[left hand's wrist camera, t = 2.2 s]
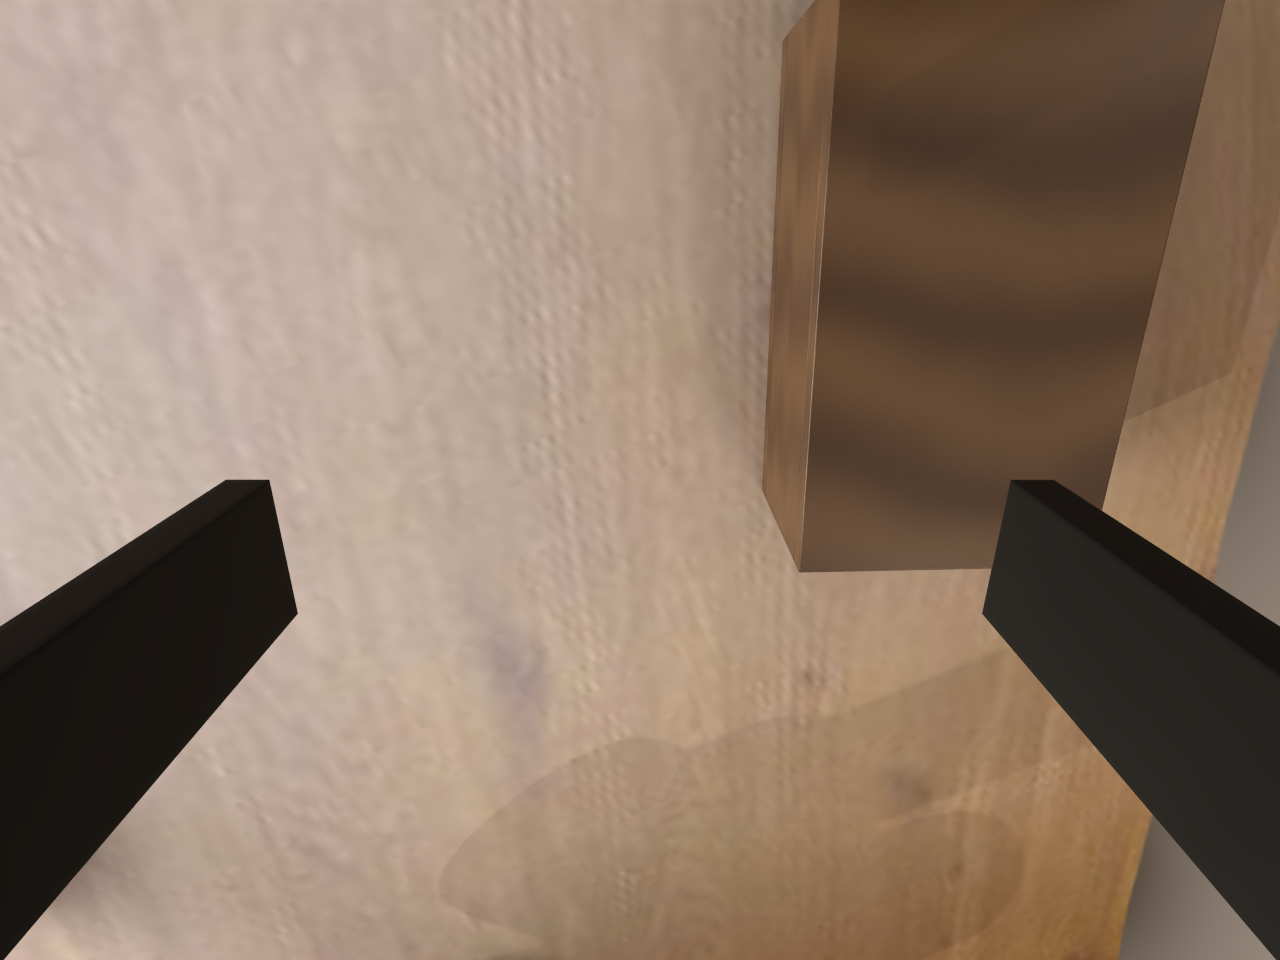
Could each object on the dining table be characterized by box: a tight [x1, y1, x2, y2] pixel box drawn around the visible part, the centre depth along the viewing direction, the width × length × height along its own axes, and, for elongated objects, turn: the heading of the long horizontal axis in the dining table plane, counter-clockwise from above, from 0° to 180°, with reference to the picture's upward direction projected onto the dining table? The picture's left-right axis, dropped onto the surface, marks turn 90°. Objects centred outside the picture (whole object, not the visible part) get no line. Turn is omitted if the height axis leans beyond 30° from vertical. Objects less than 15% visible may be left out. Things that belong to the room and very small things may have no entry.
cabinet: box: [762, 0, 1225, 572], centre depth 26 cm, size 19×11×8 cm, turn 1°
